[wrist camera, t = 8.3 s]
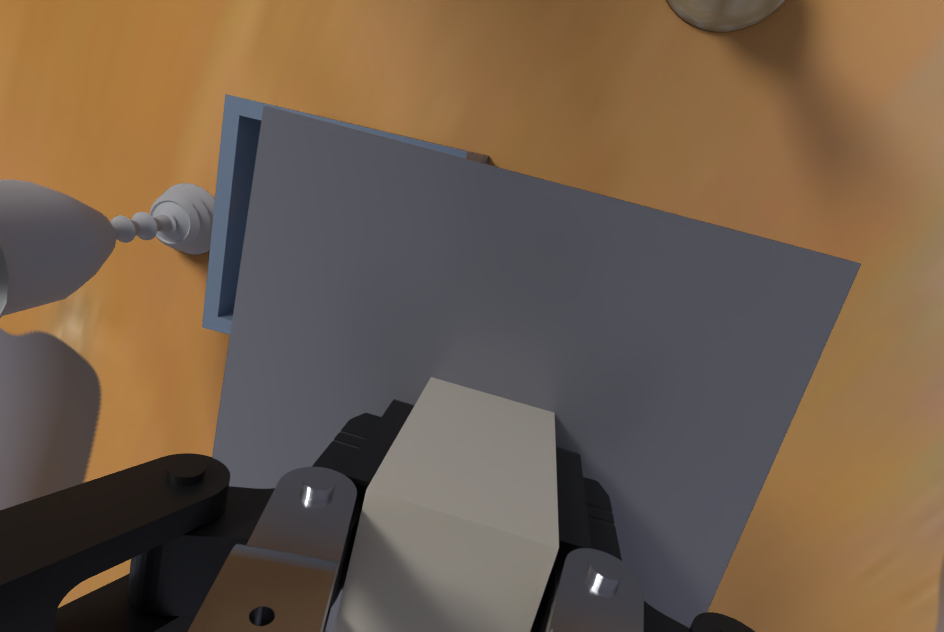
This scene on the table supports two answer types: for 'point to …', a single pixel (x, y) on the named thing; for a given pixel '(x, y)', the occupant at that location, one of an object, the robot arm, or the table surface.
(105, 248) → the chalice
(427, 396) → the lid
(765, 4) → the hand bell
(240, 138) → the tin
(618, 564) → the robot arm
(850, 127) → the table surface
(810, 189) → the table surface
